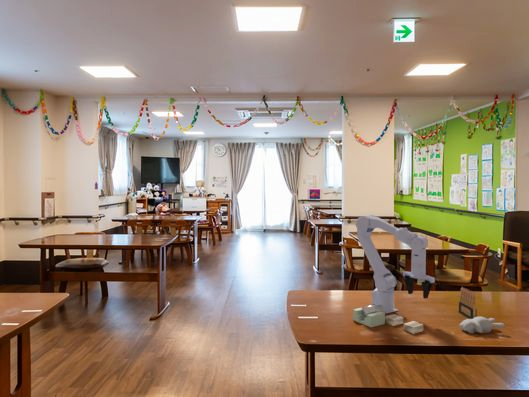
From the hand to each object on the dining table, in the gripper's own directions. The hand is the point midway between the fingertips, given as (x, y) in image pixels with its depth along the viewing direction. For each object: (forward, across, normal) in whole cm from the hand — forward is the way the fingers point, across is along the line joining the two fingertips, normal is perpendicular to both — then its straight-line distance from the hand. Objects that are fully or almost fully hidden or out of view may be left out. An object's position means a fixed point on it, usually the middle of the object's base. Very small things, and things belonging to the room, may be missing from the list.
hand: (417, 295), depth 166 cm
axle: (+7, -7, -20) cm, 22 cm away
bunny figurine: (+10, +22, +8) cm, 26 cm away
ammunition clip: (+10, +10, +20) cm, 24 cm away
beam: (+9, +4, -14) cm, 17 cm away
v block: (+9, -7, -22) cm, 25 cm away
